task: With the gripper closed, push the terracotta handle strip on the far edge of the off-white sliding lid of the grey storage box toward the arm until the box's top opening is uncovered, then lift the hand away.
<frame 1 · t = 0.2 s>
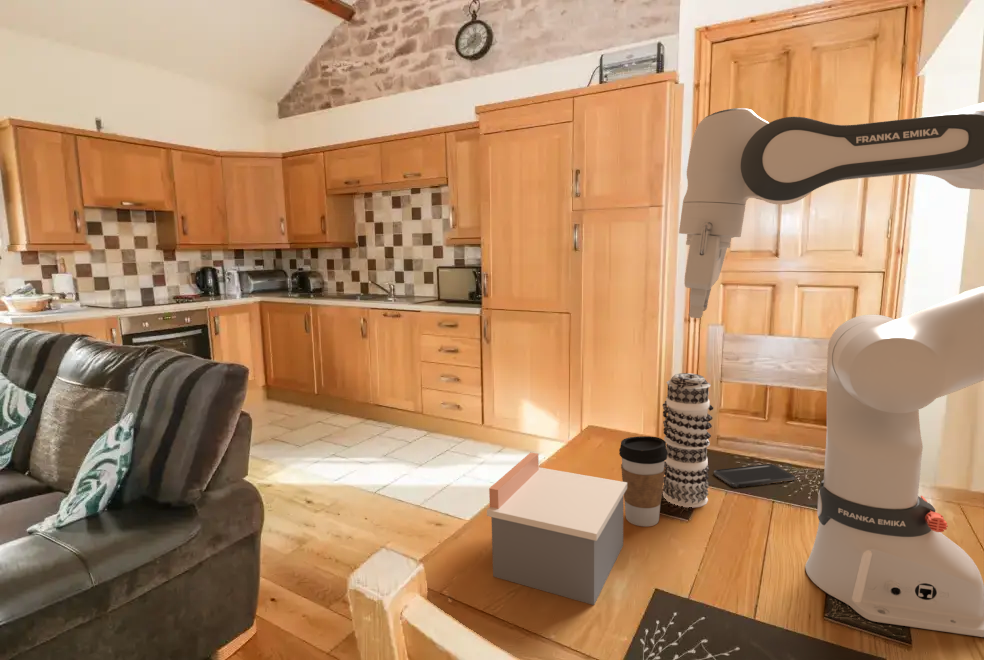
hand: (698, 313, 83), 39 cm above the table, tool pointing down, fingers open, 8 cm apart
lid: (560, 489, 84), point 12 cm above the table, slide at 0.0 cm
phone: (753, 479, 115), on the table
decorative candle: (685, 498, 106), on the table
storage box: (561, 560, 86), on the table
coffee cup: (642, 519, 98), on the table
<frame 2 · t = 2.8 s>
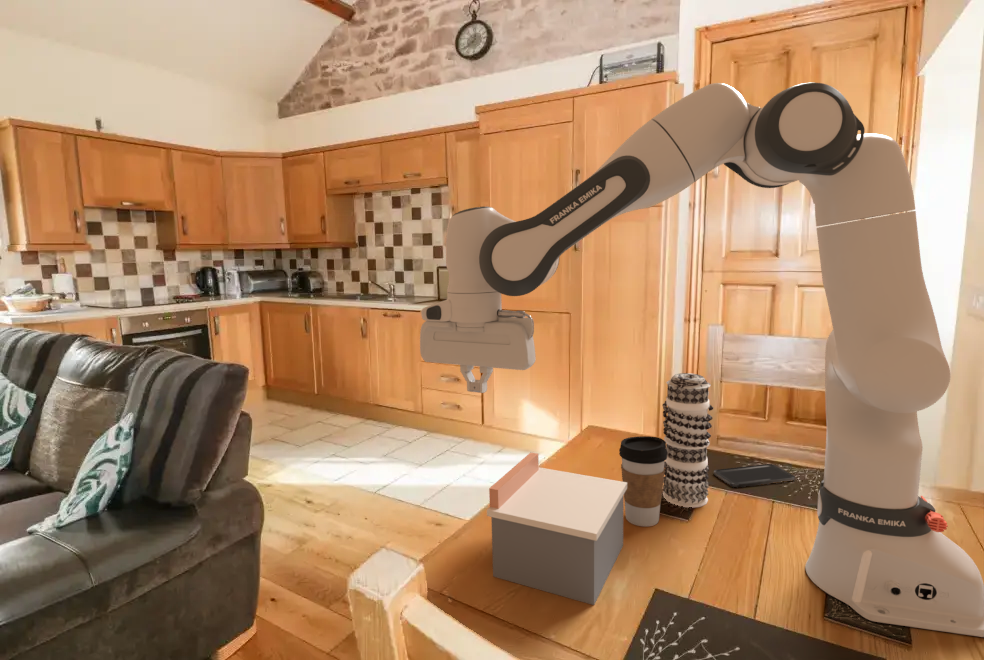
hand: (477, 391, 89), 27 cm above the table, tool pointing down, fingers closed
nothing on the table moved.
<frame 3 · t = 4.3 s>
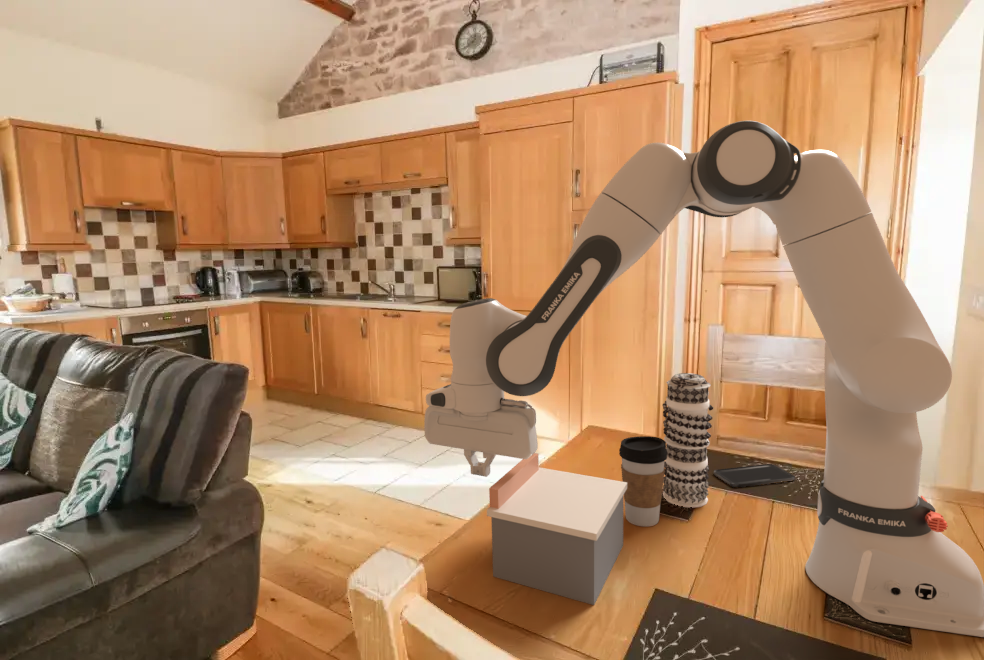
hand: (480, 474, 91), 12 cm above the table, tool pointing down, fingers closed
nothing on the table moved.
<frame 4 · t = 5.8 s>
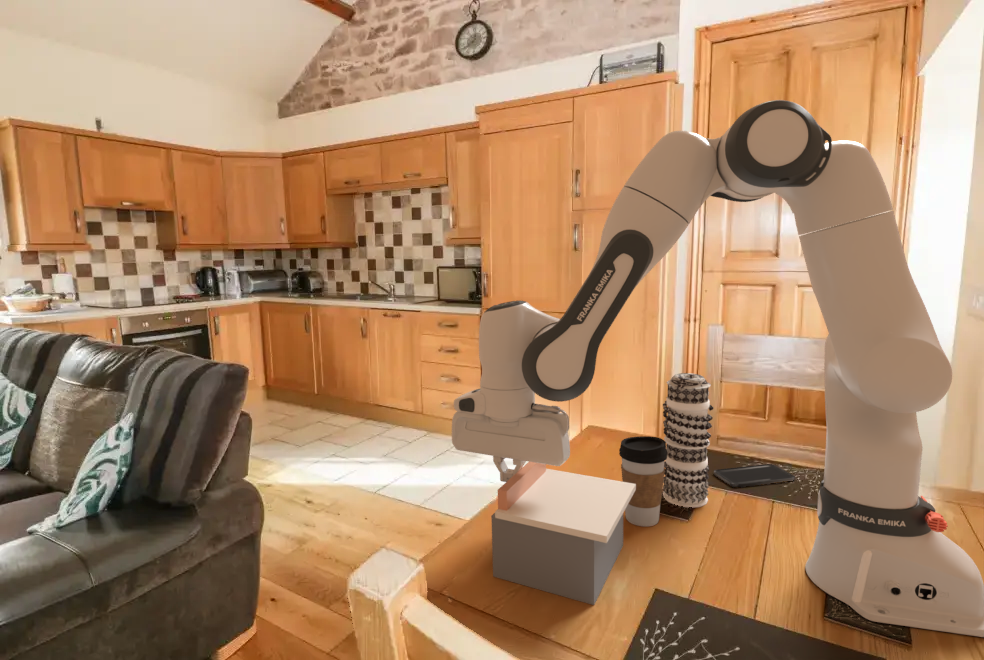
hand: (510, 481, 88), 12 cm above the table, tool pointing down, fingers closed
lid: (568, 491, 83), point 12 cm above the table, slide at 1.4 cm, touching gripper
everything else where it was.
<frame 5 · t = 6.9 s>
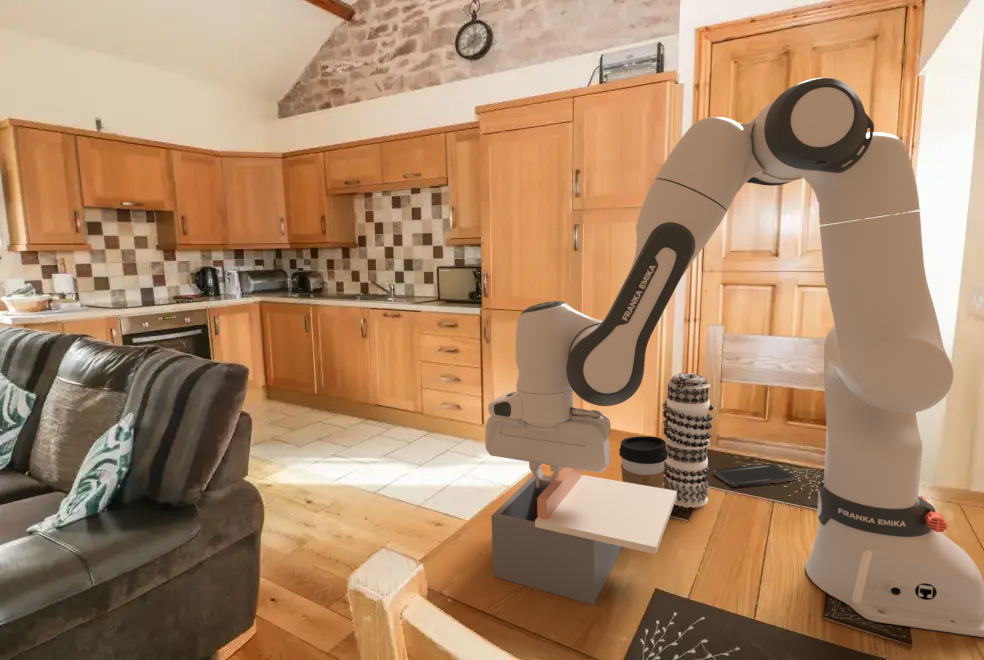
hand: (546, 488, 85), 12 cm above the table, tool pointing down, fingers closed
lid: (609, 498, 81), point 12 cm above the table, slide at 7.9 cm, touching gripper
everything else where it was.
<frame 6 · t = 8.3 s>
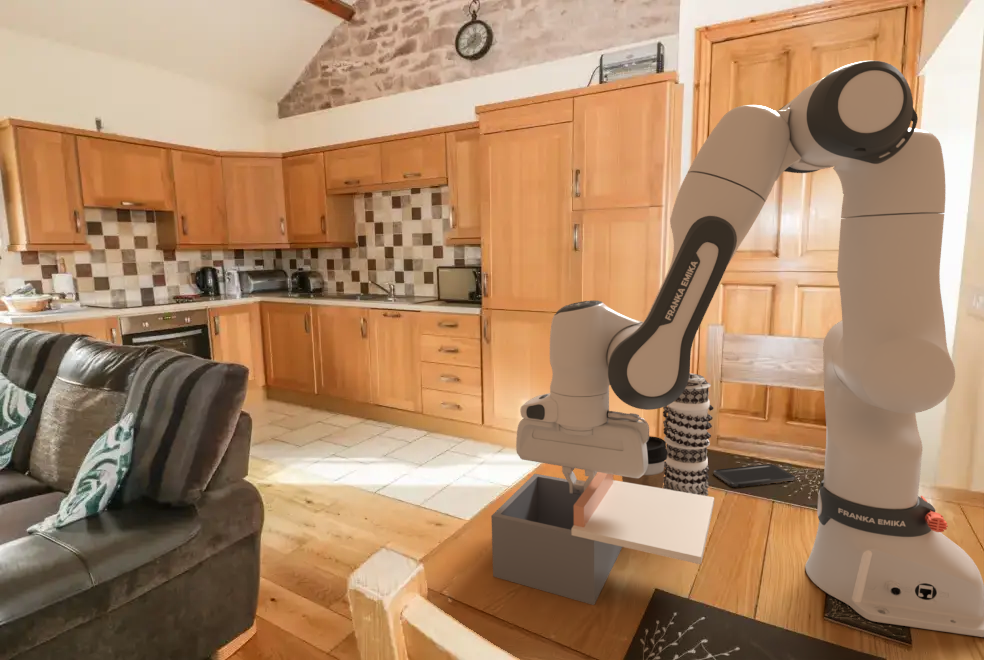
hand: (580, 493, 83), 12 cm above the table, tool pointing down, fingers closed
lid: (646, 505, 78), point 12 cm above the table, slide at 13.4 cm, touching gripper
everything else where it was.
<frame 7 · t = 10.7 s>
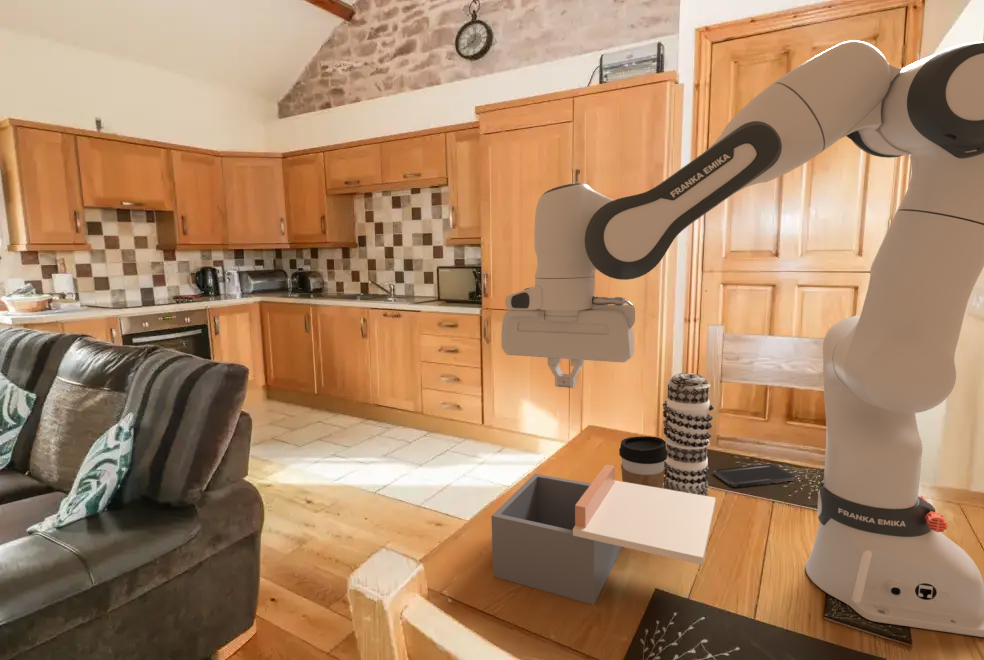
hand: (565, 386, 81), 29 cm above the table, tool pointing down, fingers closed
lid: (648, 506, 78), point 12 cm above the table, slide at 13.6 cm
everything else where it was.
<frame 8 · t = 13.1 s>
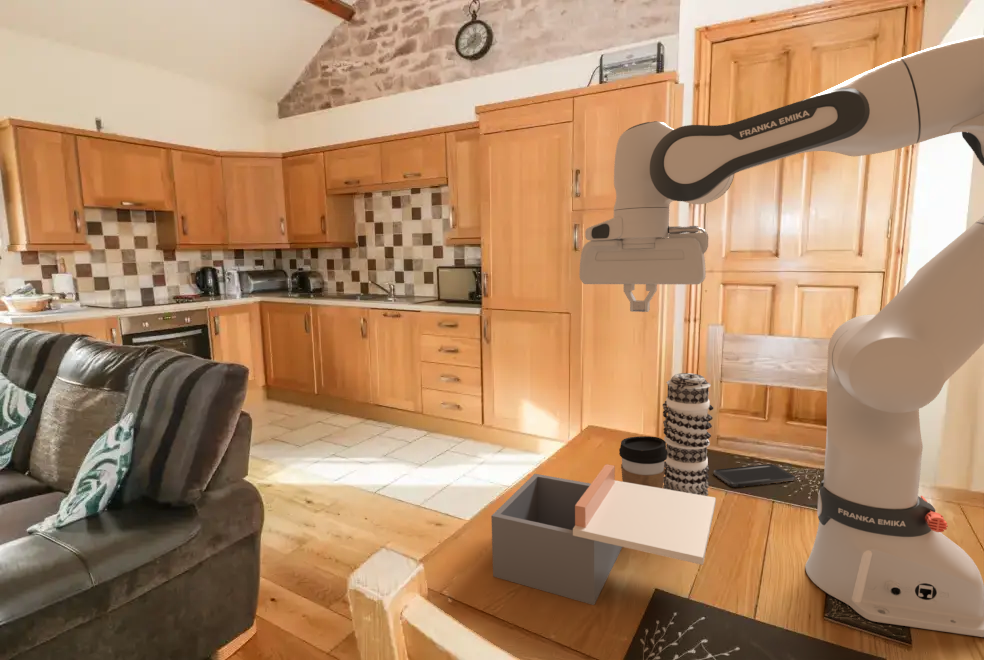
hand: (639, 311, 89), 39 cm above the table, tool pointing down, fingers closed
nothing on the table moved.
at the end: lid slide at 13.6 cm; the gripper is holding nothing; coffee cup moved 0.2 cm from its start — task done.
